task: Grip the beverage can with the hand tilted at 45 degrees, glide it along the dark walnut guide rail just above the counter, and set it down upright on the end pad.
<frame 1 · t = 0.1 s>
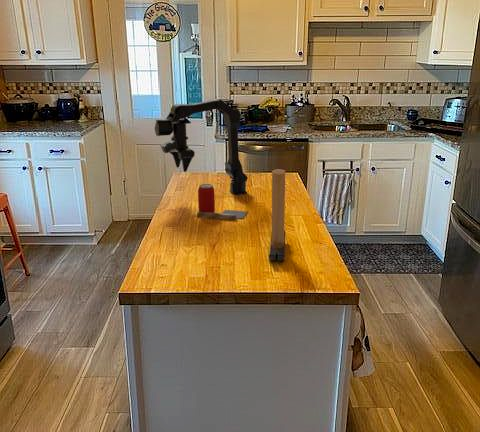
hand: (181, 169, 211), 15 cm above the countertop, tool pointing down, fingers open, 9 cm apart
hammer: (277, 253, 161), on the countertop
beverage can: (206, 213, 200), on the countertop
guide rail: (216, 218, 194), on the countertop
end pad: (233, 215, 197), on the countertop
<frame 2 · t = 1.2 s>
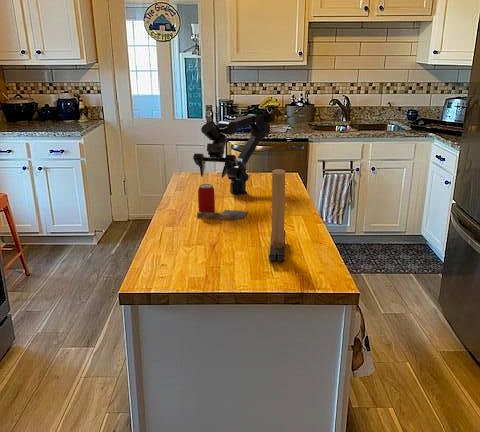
hand: (211, 176, 203), 14 cm above the countertop, tool tilted 45°, fingers open, 9 cm apart
nothing on the countertop moved.
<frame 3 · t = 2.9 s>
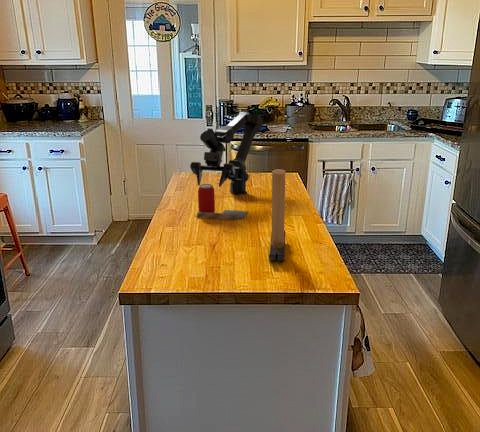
hand: (208, 185, 200), 11 cm above the countertop, tool tilted 45°, fingers open, 9 cm apart
nothing on the countertop moved.
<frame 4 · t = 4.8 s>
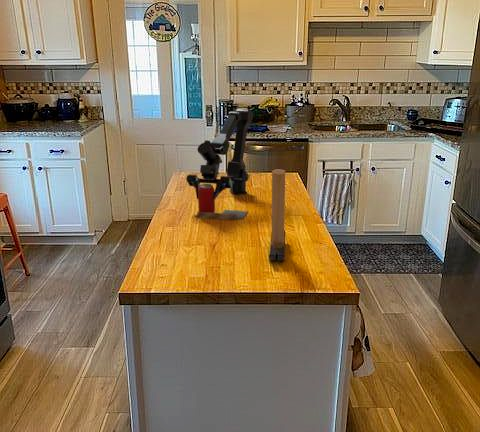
hand: (205, 199, 196), 7 cm above the countertop, tool tilted 45°, fingers closed on beverage can, 7 cm apart
beverage can: (206, 213, 200), on the countertop, touching gripper
everything else where it was.
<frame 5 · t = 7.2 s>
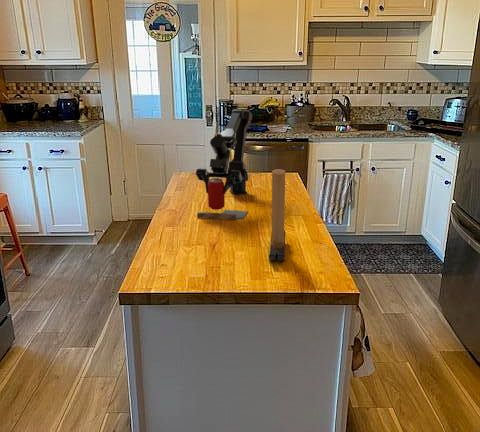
hand: (215, 193, 195), 9 cm above the countertop, tool tilted 45°, fingers closed on beverage can, 7 cm apart
beverage can: (216, 208, 198), point 2 cm above the countertop, touching gripper
everything else where it was.
when the fingers open (8 cm above the countertop, at t = 10.1 s): beverage can stays where it is, resting on end pad.
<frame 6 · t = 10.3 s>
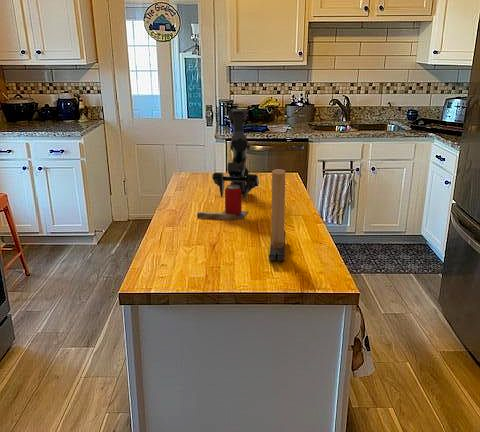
hand: (232, 197, 193), 8 cm above the countertop, tool tilted 45°, fingers open, 9 cm apart
beverage can: (233, 214, 197), resting on end pad
everything else where it was.
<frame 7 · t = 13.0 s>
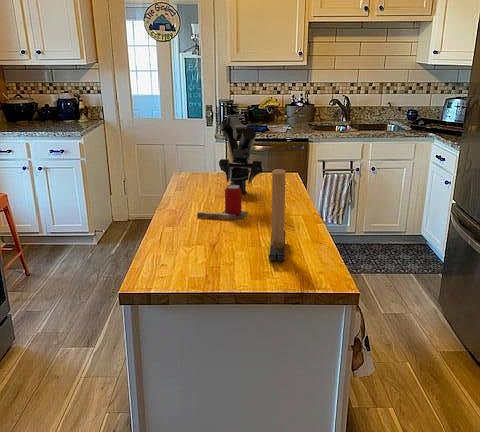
hand: (238, 182, 201), 12 cm above the countertop, tool tilted 45°, fingers open, 9 cm apart
nothing on the countertop moved.
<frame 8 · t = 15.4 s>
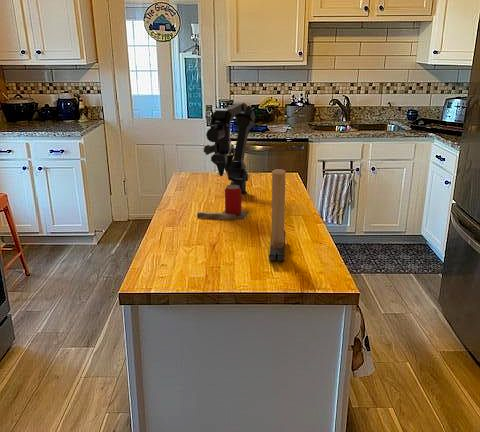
hand: (223, 173, 211), 13 cm above the countertop, tool pointing down, fingers open, 9 cm apart
nothing on the countertop moved.
at the end: beverage can 0.2 cm off-centre on the end pad, point 0.1 cm above the end pad's base; beverage can tilted 0°; the gripper is holding nothing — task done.
